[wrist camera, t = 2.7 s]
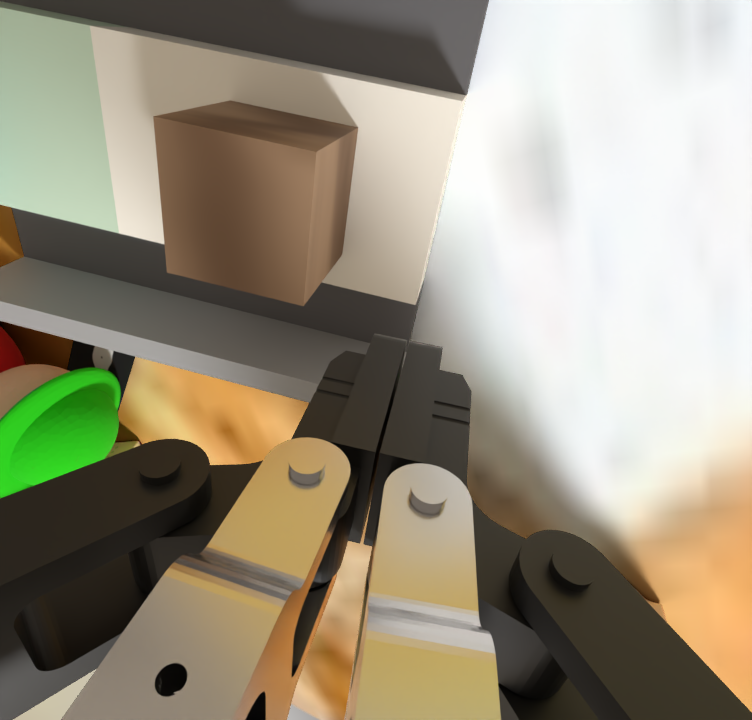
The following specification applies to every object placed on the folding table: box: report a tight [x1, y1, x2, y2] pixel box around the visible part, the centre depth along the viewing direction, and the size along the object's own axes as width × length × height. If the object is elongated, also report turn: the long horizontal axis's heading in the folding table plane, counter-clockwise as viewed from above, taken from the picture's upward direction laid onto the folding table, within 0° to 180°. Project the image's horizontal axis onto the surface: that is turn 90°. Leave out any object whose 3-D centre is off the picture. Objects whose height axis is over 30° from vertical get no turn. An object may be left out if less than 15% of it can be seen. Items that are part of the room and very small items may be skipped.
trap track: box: [0, 0, 489, 403], centre depth 20 cm, size 22×18×6 cm
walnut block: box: [153, 100, 358, 306], centre depth 18 cm, size 5×5×5 cm
